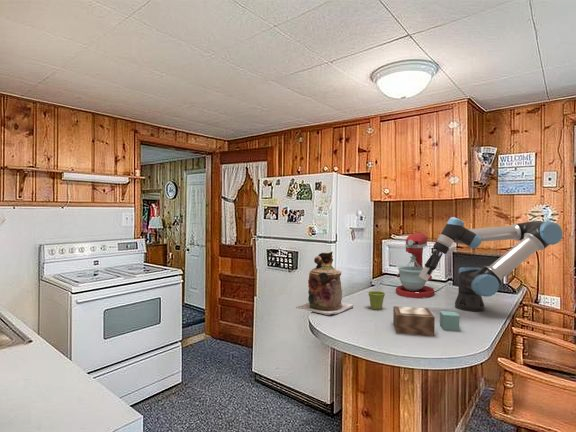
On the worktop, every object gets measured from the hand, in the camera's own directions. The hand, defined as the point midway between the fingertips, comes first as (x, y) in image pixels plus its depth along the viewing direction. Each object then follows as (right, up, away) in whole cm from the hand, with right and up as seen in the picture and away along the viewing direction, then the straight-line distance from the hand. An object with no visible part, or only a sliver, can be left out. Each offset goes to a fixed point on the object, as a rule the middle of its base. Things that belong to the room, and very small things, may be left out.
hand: (422, 278), depth 198 cm
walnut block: (-14, -19, -27) cm, 36 cm away
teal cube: (+3, -19, -25) cm, 32 cm away
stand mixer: (+13, -18, +49) cm, 54 cm away
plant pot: (-22, -18, +10) cm, 31 cm away
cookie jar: (-51, -18, +8) cm, 55 cm away
